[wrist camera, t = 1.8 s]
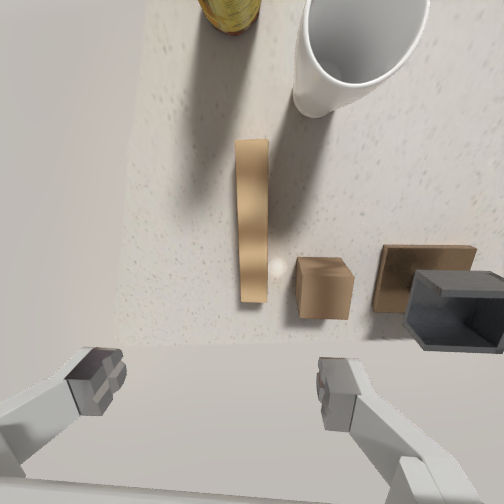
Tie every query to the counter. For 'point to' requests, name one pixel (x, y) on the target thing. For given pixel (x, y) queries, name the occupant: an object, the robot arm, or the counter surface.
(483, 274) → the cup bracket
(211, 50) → the counter surface
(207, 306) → the counter surface
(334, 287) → the walnut block
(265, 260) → the oak rail
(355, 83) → the drinking glass
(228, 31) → the sauce bottle
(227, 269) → the counter surface
